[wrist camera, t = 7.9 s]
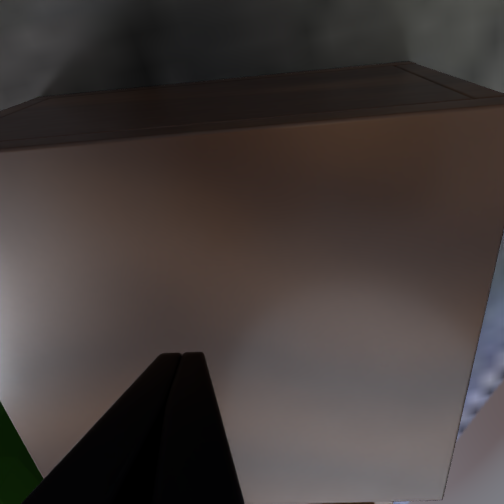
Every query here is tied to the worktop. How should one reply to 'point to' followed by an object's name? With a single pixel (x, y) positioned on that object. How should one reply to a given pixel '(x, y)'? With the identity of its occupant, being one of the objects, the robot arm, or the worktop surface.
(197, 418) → the robot arm
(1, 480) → the bell pepper
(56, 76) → the worktop surface
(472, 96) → the cabinet
